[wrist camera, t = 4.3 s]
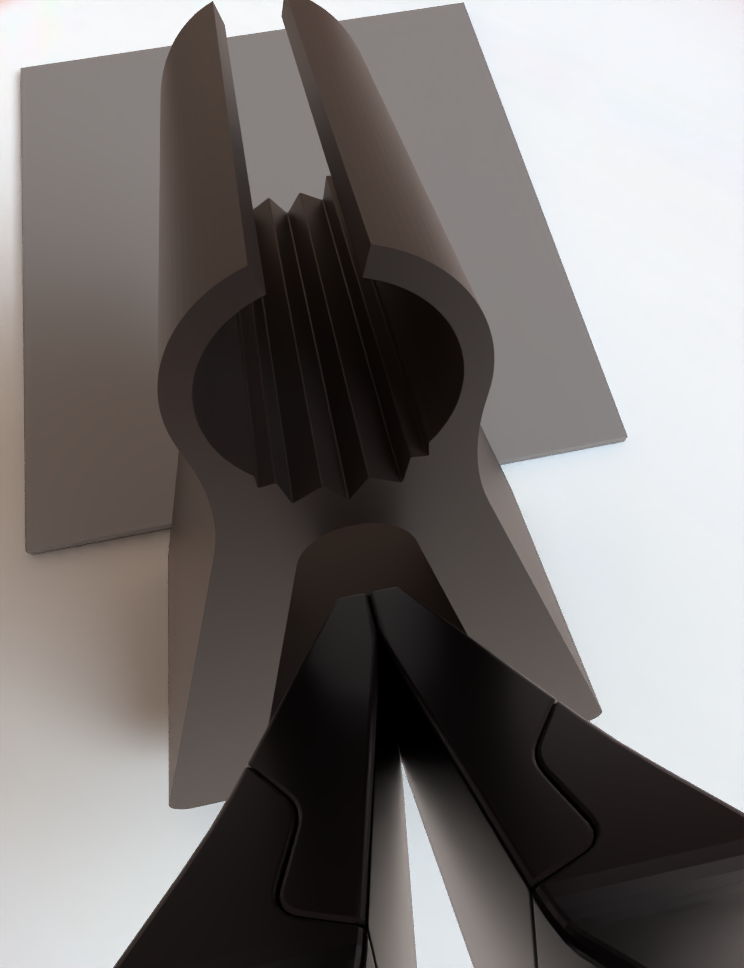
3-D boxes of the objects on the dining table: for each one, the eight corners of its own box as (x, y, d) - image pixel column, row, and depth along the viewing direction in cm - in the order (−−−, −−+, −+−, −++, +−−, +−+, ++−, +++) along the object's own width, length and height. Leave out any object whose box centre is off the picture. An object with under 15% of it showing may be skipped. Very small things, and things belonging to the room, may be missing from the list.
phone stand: (173, 812, 14) (-333, 364, 5) (173, 566, 18) (-112, 47, 9) (599, 722, 15) (886, 161, 5) (512, 501, 18) (591, -54, 9)
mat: (623, 441, 19) (627, 436, 19) (31, 554, 18) (25, 551, 18) (462, 10, 26) (463, 2, 25) (24, 75, 25) (20, 68, 24)
